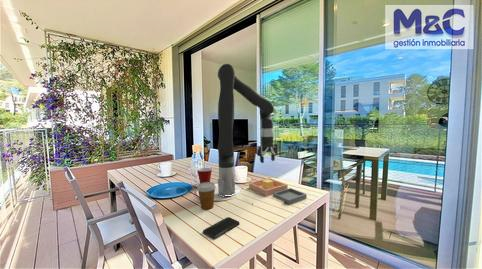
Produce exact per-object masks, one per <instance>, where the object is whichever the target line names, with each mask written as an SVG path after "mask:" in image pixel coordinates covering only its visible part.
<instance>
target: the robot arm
mask: <svg viewBox="0 0 482 269" xmlns="http://www.w3.org/2000/svg"><path fill="white" fill-rule="evenodd" d="M217 78H218V80H219V83H220V84H219V85H220V86H219V87H220V89H219V90H220V91H219V96H218V103H217V104H218V106H217V120H218V128H219V132H218V133H219V135H218V136H219V137H218V145H217V150H218V152H217V153H218V177H219V178H217V189H218V190H217V191H218V192H217V194H218V195H219V194H220V195H222V196H225V195H232V194H234V193H235V194H236V178H235V153H234V152H235V150H234V149H235V147H234V146H235V145H234V141H233V139H234V138H233V137H234V136H233V128H234V121H235V120H234V119H235V99H234V94H235V93H234V91H236V92H237V93H238V94H240V95H241V96H242V97H243V98H244V99H246V100H247V101H248V102H249V103H250V104H252V105H253V106H255V107H258V108H259V116H260V121H261V123H260V124H261V130H260V143H261V145H257V147H256V155H257V157H259V161H260V163H261V164H264V162H265V158H264V156H265V154H267V153H270V158H271V162H274V161H275V159H276V158H275V157H276V154H278V144H275V142H274V120H273V119H272V115H271V114H273V113H274V111H275V105H274V104H273V103H272V102H271V101H270V100H268V99H267V98H265V97H263V96H262V95H261V94H260V93H258V91H256V90H255V89H254V88H252V87H250V86H249V85H247V84H246V83H244V82H243V81H241V80H240V79H239V78H238V77H237V76H236V71H235V68H234V66H233V65H232V64H229V63H224V64H223V65H220V67H219V69H218V71H217ZM220 195H219V196H220ZM222 196H221V197H222Z"/></svg>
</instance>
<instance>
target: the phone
mask: <svg viewBox="0 0 482 269" xmlns="http://www.w3.org/2000/svg"><path fill="white" fill-rule="evenodd" d="M239 225H240V221H238V220H236V219H234V218H232V217H230V216H229V217H226V218H223V219H222V220H219V221H217V222H215V223H214V224H212V225H210V226H209V227H206V228H205V229H203V230H202V234H203V235H204V236H207V237H208V238H210V239H211V240H217V239H218V238H220V237H221V236H224V235H225V234H226V233H229V232H230V231H231V230H233V229H235V228H237V227H238V226H239Z"/></svg>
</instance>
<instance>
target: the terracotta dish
mask: <svg viewBox="0 0 482 269" xmlns="http://www.w3.org/2000/svg"><path fill="white" fill-rule="evenodd" d="M267 179H269V180H272V181H274V188H271V189H267V190H266V189H263V188H262V181H263V180H267ZM248 187H249V189H251V190H253V191H255V192H256V193H259V194H261V195H263V196H265V197H267V196H271V195H272V196H273V193H276V192H279V191H282V190H285V189H289V188H288V184H287V183H286V182H285V183H284V182H282V181H279V180H276V179H274V178H271V177H267V178H263V179H258V180H255V181H251V182H248Z"/></svg>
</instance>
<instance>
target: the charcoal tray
mask: <svg viewBox="0 0 482 269" xmlns="http://www.w3.org/2000/svg"><path fill="white" fill-rule="evenodd" d="M272 196H273V197H275V198H277V199H279V200H282V201H284V202H283V203H285V204H287V205H292V204H294V203H296V202H299V201H300V202H301V201H302V200H306V199H307V197H308V196H307V193H305V192H302V191H301V190H297V189H294V188H291V187H289V188H288V189H285V190H282V191H279V192H276V193H273V194H272Z"/></svg>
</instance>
